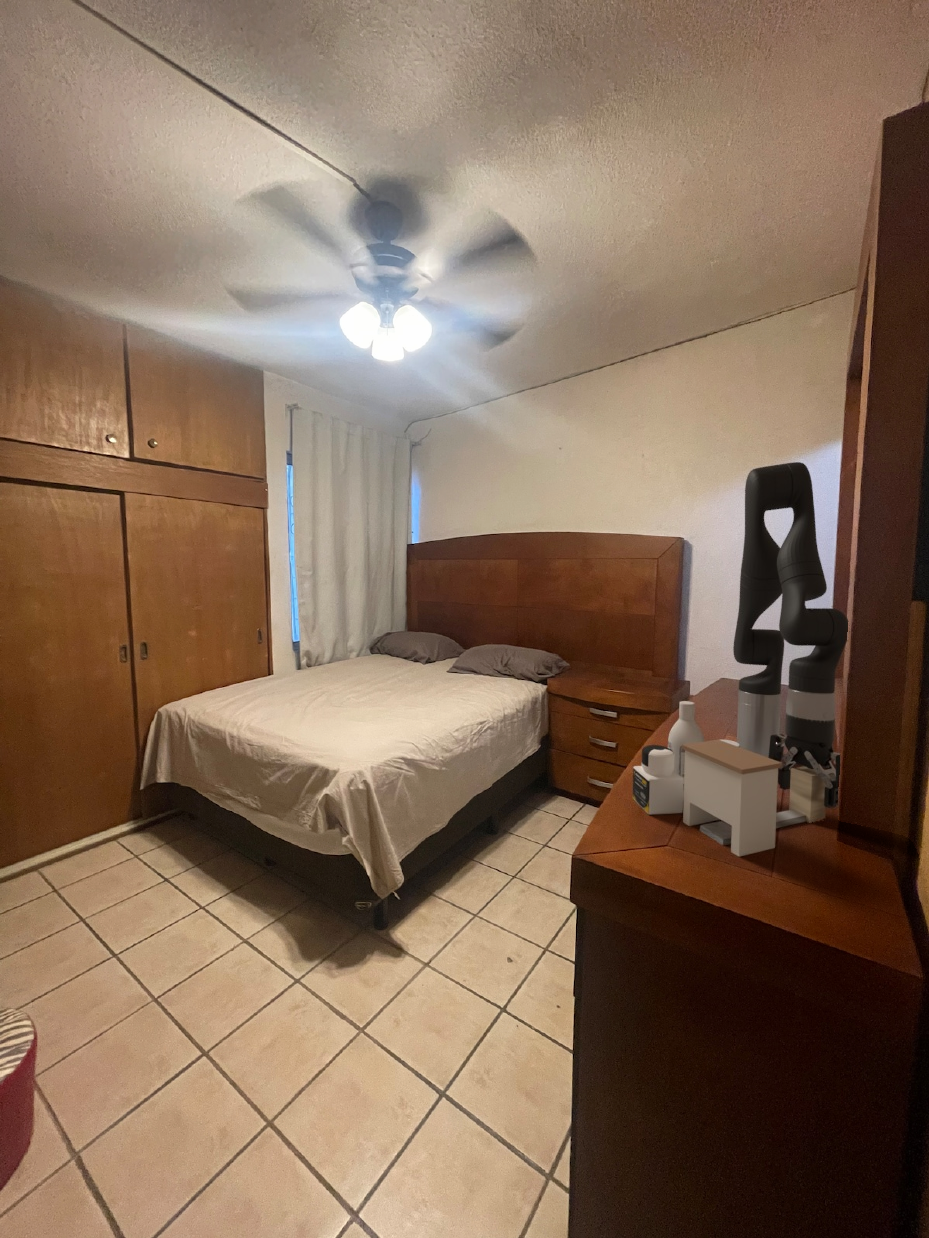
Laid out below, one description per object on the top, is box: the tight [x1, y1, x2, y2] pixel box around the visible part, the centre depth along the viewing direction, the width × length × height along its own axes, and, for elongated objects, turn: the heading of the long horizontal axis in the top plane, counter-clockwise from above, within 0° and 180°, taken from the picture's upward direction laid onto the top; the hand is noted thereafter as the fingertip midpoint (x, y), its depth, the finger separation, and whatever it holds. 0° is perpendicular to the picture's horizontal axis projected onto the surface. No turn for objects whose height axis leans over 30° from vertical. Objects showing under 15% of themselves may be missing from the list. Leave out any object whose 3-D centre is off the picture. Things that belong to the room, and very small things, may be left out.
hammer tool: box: [776, 765, 827, 829], centre depth 88 cm, size 16×4×9 cm, turn 109°
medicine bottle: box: [632, 744, 684, 816], centre depth 94 cm, size 7×7×12 cm
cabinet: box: [682, 739, 782, 857], centre depth 83 cm, size 9×13×15 cm
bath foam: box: [667, 700, 705, 802], centre depth 99 cm, size 7×7×20 cm
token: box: [699, 820, 732, 846], centre depth 83 cm, size 5×5×2 cm
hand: (806, 797), depth 89 cm, fingers open, 8 cm apart
